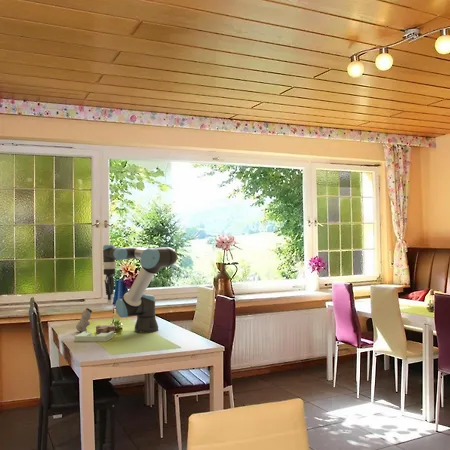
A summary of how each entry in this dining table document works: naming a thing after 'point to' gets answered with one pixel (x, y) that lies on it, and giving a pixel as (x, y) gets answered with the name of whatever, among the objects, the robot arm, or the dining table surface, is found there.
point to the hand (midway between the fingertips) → (110, 304)
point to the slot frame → (100, 337)
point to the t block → (105, 328)
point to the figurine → (84, 320)
